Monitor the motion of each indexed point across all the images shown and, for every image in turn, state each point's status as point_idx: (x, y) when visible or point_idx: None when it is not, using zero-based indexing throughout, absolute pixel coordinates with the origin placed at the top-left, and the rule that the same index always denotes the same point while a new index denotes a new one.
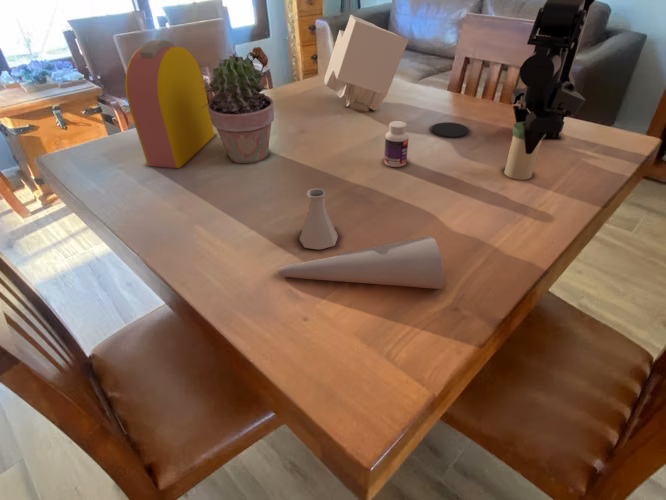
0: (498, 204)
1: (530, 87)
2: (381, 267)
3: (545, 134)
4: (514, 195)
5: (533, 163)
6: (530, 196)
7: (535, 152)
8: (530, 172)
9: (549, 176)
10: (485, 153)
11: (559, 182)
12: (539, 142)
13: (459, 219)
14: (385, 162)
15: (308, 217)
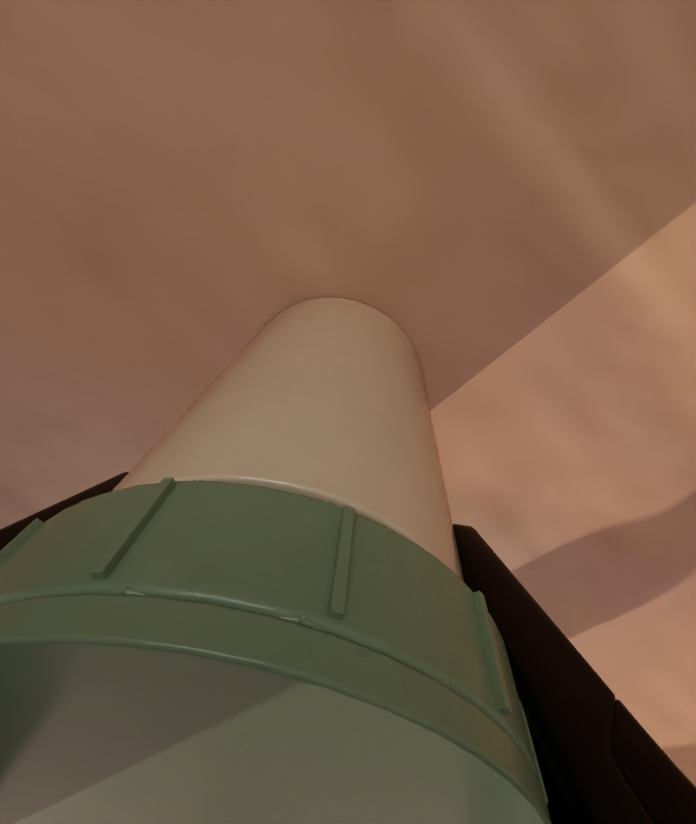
0: (649, 582)
1: None
2: None
3: (347, 540)
4: (594, 494)
5: (417, 389)
6: (639, 420)
7: (436, 469)
8: (417, 363)
9: (393, 159)
10: (71, 469)
11: (513, 107)
12: (443, 548)
13: (692, 711)
14: None
15: None
